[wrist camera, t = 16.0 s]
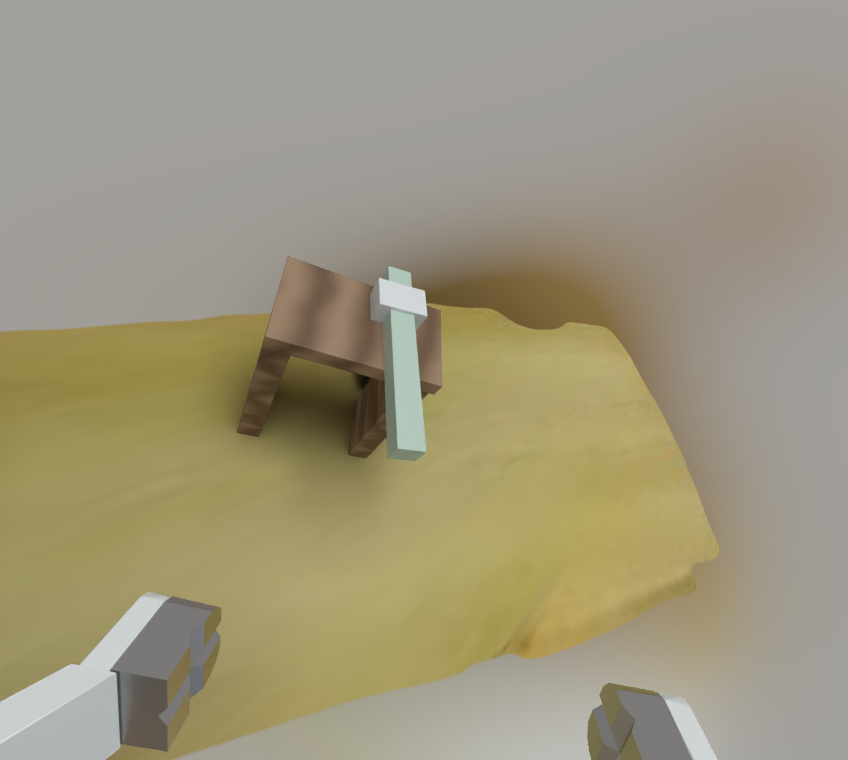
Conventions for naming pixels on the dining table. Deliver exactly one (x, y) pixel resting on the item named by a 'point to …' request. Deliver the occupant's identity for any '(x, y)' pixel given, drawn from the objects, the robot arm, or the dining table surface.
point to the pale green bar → (401, 361)
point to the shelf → (334, 347)
